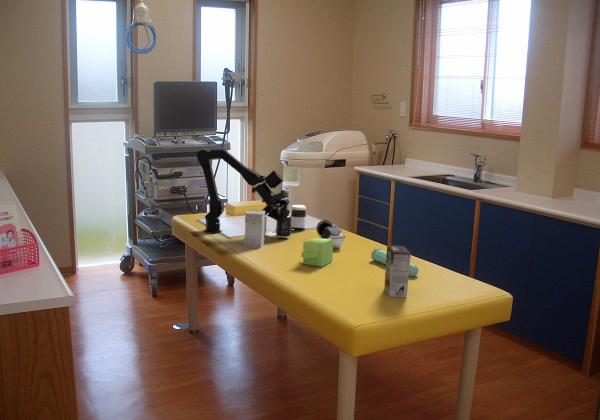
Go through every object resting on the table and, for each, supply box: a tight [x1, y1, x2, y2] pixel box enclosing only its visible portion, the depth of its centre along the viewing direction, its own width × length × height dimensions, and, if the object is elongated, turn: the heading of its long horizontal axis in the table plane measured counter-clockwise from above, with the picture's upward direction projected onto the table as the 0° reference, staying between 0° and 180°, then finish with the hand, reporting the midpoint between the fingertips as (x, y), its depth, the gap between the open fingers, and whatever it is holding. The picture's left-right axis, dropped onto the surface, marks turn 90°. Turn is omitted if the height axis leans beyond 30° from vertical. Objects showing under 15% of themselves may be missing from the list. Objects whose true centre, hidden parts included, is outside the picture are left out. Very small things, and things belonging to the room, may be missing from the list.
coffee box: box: [383, 244, 411, 298], centre depth 218 cm, size 9×6×16 cm
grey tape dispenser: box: [316, 219, 346, 249], centre depth 283 cm, size 25×10×10 cm, turn 12°
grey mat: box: [264, 231, 279, 239], centre depth 295 cm, size 9×9×1 cm
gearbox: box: [300, 237, 334, 267], centre depth 253 cm, size 18×10×10 cm, turn 153°
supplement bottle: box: [275, 208, 292, 238], centre depth 288 cm, size 7×7×12 cm
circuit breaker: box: [243, 209, 268, 249], centre depth 277 cm, size 8×14×15 cm, turn 174°
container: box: [370, 247, 419, 277], centre depth 249 cm, size 6×6×25 cm
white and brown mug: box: [289, 204, 307, 231], centre depth 309 cm, size 12×11×12 cm
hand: (286, 221), depth 288 cm, fingers closed on supplement bottle, 7 cm apart
